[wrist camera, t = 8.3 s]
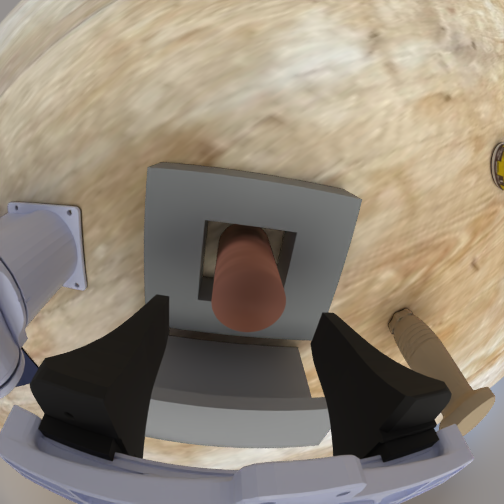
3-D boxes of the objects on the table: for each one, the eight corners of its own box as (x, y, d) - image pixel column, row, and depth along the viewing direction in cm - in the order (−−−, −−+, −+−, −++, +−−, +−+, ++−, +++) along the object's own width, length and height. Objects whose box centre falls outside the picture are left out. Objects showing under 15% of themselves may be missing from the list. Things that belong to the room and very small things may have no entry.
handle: (418, 288, 25) (503, 386, 11) (415, 331, 28) (479, 424, 14) (380, 304, 25) (457, 420, 12) (381, 346, 28) (438, 451, 14)
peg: (217, 267, 23) (210, 330, 15) (220, 220, 21) (212, 267, 14) (265, 270, 23) (279, 333, 16) (272, 224, 21) (292, 272, 14)
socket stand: (158, 341, 25) (132, 433, 15) (161, 162, 19) (90, 191, 9) (295, 354, 27) (318, 445, 17) (343, 189, 21) (427, 239, 10)
